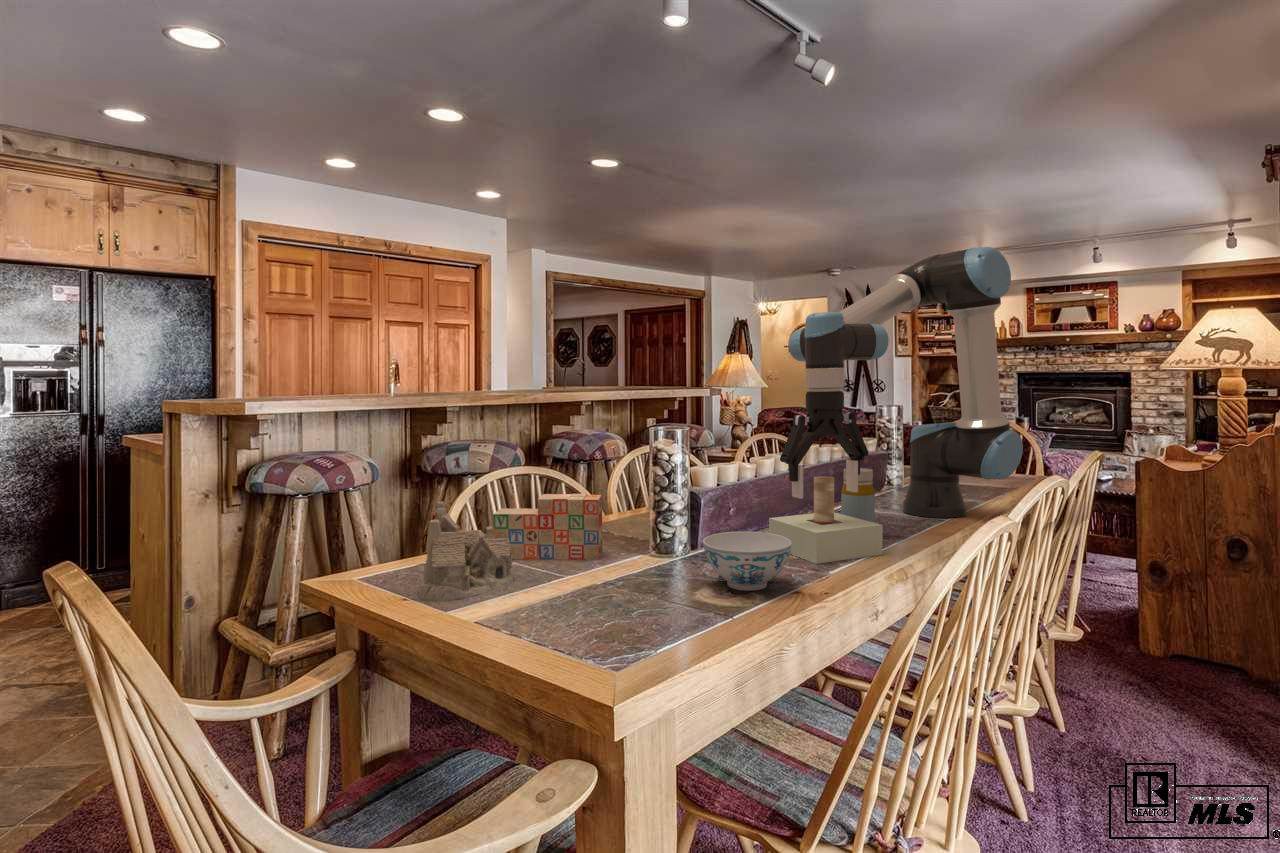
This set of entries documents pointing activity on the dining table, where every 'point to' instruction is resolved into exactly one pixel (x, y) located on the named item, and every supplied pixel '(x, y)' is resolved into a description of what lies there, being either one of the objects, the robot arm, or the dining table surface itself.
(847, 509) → the bottle
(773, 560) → the chinaware
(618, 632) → the dining table surface
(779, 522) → the sage socket block
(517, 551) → the stack of blocks
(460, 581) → the ceramic cottage
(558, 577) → the dining table surface
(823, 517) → the ash dowel
